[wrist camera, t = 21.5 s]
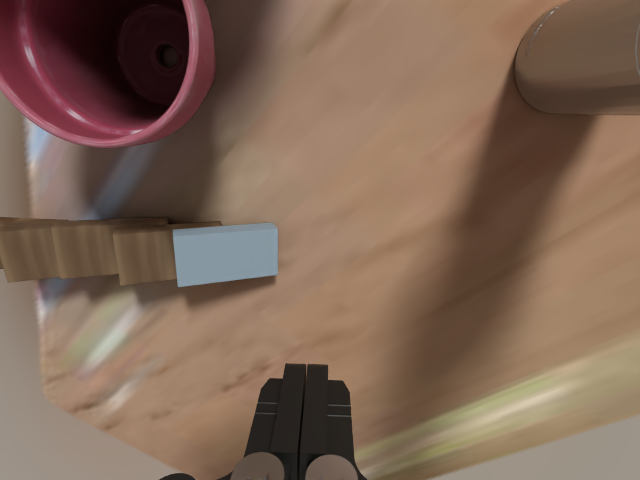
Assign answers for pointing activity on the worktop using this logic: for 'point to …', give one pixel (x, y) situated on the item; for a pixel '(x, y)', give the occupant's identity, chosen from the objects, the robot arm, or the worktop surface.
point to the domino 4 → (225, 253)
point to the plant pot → (106, 66)
